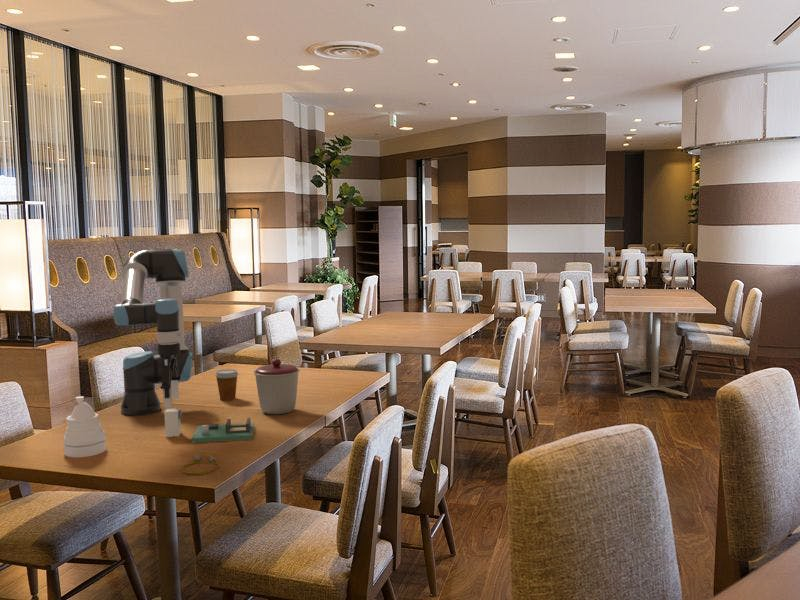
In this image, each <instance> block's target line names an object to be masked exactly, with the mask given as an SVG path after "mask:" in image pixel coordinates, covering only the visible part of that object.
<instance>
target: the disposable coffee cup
mask: <svg viewBox="0 0 800 600" xmlns="http://www.w3.org/2000/svg"><path fill="white" fill-rule="evenodd" d="M238 375H239V373H238V370H237V369H233V368H231V369H230V368H229V369H228V368H227V369H220V370H217V371H216V372H215V374H214V376H215V378H216V382H217V388H218V394H219V400H220V401H222V402H223V401H226V402H227V401H233V400H236V395H237V394H236V393H237V384H238V383H237V382H238Z"/></svg>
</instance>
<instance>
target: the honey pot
mask: <svg viewBox="0 0 800 600" xmlns="http://www.w3.org/2000/svg"><path fill="white" fill-rule="evenodd" d="M84 399H85V396H82V395H81V396H76V397H75V401H76V402H77V403H78V404H76V405H75V407H74V409H73V411H72V412H71V415H68V416H67V417H66V418H65V421H66V422H67V426H66V428H65V430H66V431H65V434H64V436H63V453H64V456H65V457H68V458H86V457H93V456H96V455H100V454H101V453H103V452H104V453H105V451H107V443H106V442H107V441H106V440H107V439H106V433H105V431H104V428H103V427H102V423H101V422H100V419H99V418H100V417H99V414H98V413H96V412H95V410H94V409H93V407H92V406H91V405H90V404H88V403H87V402H86V401H84Z"/></svg>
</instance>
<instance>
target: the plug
mask: <svg viewBox="0 0 800 600" xmlns="http://www.w3.org/2000/svg"><path fill="white" fill-rule="evenodd" d="M163 413H164V415H163V416H164V430H165V438H172V437H173V436H177V437H179V436H181V434H180V433H182V427H181V419H182V417H183V411H182V409H180V407H178V408H166V409H165V410H164V412H163ZM173 438H174V437H173Z"/></svg>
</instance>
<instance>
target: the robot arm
mask: <svg viewBox="0 0 800 600" xmlns="http://www.w3.org/2000/svg"><path fill="white" fill-rule="evenodd" d="M121 276H122V279H123V285H122V293H121V302H120V303H118V304H114V306H113V320H114V321H113V322H114V324H115V325H116V326H134V325H135V326H136V325H156V342H157V343H158V344H157V354H154V352H153V351H151V350H150V351H141V352H140V351H139V352H134V353H131V354H128V355H126V356H124V358H123V360H122V370H123V387H124V391H123V393H124V394H123V398H122V400H121V401H122V402H121V405H120V413H121V414H122V415H127V416H139V415H148V414H153V413H156V412H158V411H160V410H161V408H162V407H161V402H160V398H159V397H158V395H157V391H156V385H158V384H161V385H160V390H162V392H163V393H162V394H163V408H172V407H173V400H174V399H179V398H180V393H179V392H180V391H179V389H180V388H179V384H180V383H184V382H188V381H189V380H190V379H191V375H192V374H191V373H192V364H193V352H190V349H189V348H190V347H188V346H187V345H186V344H185V343H186V342H185V325H184V324H185V323H184V305H183V303H184V302H183V285H184V284H185V283H186V278H190V277H189V276H190V275H189V269H188V263H187V258H186V253H185V251H184V250H183V249H181V248H178V249H177V248H168V249H167V248H163V249H161V248H160V249H144V250H139V251H137V252H135V253H134V254H132V255H131V256H129V257H128V258H127V260H126V261H125V262H124V264H123V265H122V268H121ZM148 279H155V284H156V285H158V287H159V294H160V295H159V296H160V297H159V298H160V299H159V298H158V299H157V300H155V302H147V303H144V298H145V297H144V296H145V283H146V282H145V281H146V280H148Z"/></svg>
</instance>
